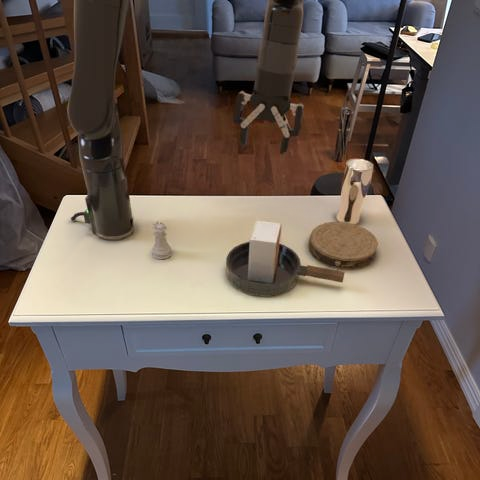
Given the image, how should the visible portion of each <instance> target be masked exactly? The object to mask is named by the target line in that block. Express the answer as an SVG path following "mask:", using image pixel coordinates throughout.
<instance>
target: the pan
mask: <svg viewBox="0 0 480 480" xmlns="http://www.w3.org/2000/svg"><path fill="white" fill-rule="evenodd" d="M249 247H250V240H248V241H246V242H242V243H240V244H238V245H236V246H234V247H232V249H231V250H229V252H228V253H227V255H226V261H225V274H226V277H227V280H228V281H229V282H230V283H231V285H232V286H233V287H235V288H237V289H238V290H240V291H242V292H244V293H247V294H249V295H255V296H265V297H267V296H268V297H269V296H275V295H280V294H284V293H286V292H288V291H289V290H291V289H293V288H294V287H295V286H296V284H297V283H298V282H299V278H300V275H298V274H299V270H300V267H301V265H302V264H301V258H300V257H299V255H298V254H297V253H296V252H295V251H294V250H293V249H292V248H290V247H288V246H287V245H285V244H282V243H279V252H278V261H277V267H276V271H275V275H274V279H273V282H272V283H265V282H258V281H251V280H248V267H249Z"/></svg>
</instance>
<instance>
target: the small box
mask: <svg viewBox="0 0 480 480" xmlns="http://www.w3.org/2000/svg"><path fill="white" fill-rule="evenodd" d="M281 233H282V223H279V222H273V221H264V220H258V219H257V220H256V221H255V224H254V227H253V230H252V234H251V236H250V239H249V241H250V247H249V267H248V280H251V281H258V282H265V283H272V282H273V279H274V275H275V271H276V267H277V261H278V252H279V244H280V243H281V242H280V241H281Z"/></svg>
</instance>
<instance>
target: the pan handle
mask: <svg viewBox="0 0 480 480" xmlns="http://www.w3.org/2000/svg"><path fill="white" fill-rule="evenodd" d="M345 273H346V272H345V271H343V270H338V269H337V270H336V269H331V268H325V267H320V266H314V265H309V264H306V265H302V264H301V267H300V270H299V274H298V275H299V277H300V276H301V277H310V278H315V279H322V280H327V281H331V282H337V283H343V282H344V278H345Z"/></svg>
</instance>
